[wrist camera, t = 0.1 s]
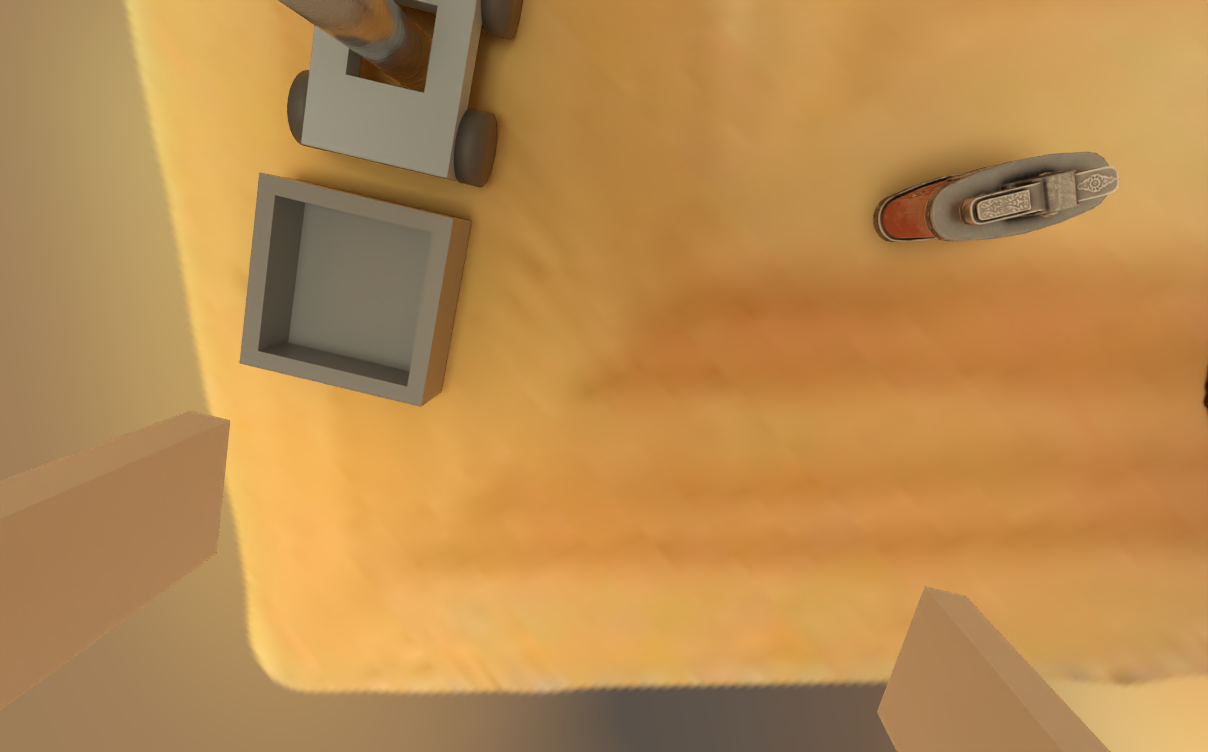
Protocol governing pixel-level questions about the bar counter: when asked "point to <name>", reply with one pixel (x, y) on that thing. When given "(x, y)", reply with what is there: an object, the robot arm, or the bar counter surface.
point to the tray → (352, 290)
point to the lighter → (997, 199)
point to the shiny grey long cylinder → (374, 35)
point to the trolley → (406, 98)
